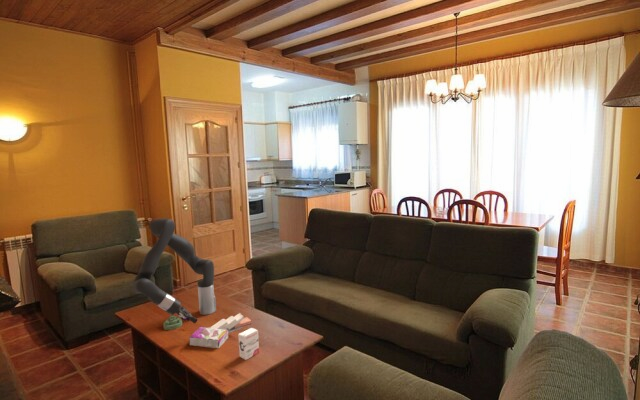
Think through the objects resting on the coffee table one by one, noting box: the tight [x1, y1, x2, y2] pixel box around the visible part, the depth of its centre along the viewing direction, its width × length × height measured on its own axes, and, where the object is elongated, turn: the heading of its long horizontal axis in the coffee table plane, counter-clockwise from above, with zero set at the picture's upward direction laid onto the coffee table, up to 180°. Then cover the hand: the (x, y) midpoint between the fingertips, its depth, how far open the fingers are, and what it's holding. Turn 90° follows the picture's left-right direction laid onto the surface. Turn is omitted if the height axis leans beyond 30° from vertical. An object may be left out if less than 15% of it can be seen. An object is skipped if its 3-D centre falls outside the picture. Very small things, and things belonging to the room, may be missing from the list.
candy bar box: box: [188, 326, 229, 349], centre depth 189 cm, size 11×5×16 cm
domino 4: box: [234, 316, 252, 328], centre depth 208 cm, size 2×6×10 cm
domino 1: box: [209, 318, 228, 329], centre depth 200 cm, size 2×6×10 cm
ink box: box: [237, 327, 260, 361], centre depth 176 cm, size 8×5×12 cm, turn 140°
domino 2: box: [222, 315, 237, 329], centre depth 202 cm, size 2×6×10 cm
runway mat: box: [226, 326, 243, 334], centre depth 201 cm, size 20×10×1 cm, turn 125°
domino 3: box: [228, 312, 246, 330], centre depth 205 cm, size 2×6×10 cm
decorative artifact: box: [163, 314, 183, 331], centre depth 208 cm, size 10×7×10 cm
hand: (196, 321), depth 192 cm, fingers closed
